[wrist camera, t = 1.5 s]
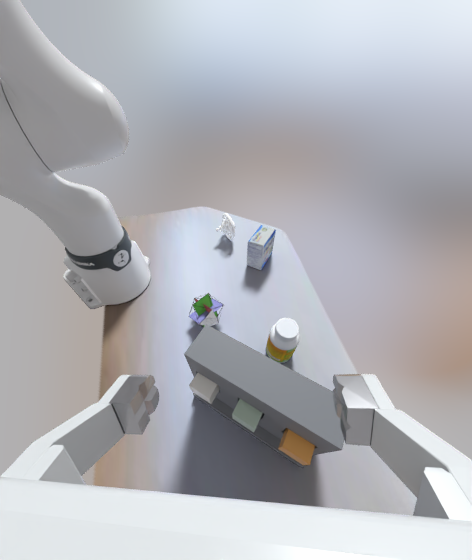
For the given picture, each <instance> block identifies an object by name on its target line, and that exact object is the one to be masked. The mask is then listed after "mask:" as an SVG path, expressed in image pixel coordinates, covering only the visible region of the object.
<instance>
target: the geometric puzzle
mask: <svg viewBox="0 0 472 560" xmlns="http://www.w3.org/2000/svg"><path fill="white" fill-rule="evenodd" d="M202 296H203V295H202ZM199 297H200V296H199ZM212 297H213V296H212ZM212 297H211V298H210V296H209V293H208V294H207V295H205V296H204V297H203V298H201V299H200V300H199V301H198V300H197V299H195V298H194V299H195V301H196V303H194V301H193V303H194V304H192V305H193V307H194V308H195V309H194V310H196V311H195V312H194V313H192V314H191V315H190V316H188V317H190V318H191V319H193V320H194V321H195V322H197V323H198V324H199V325H201V326H202V325H203V326H202V327H204V326H205V325H206V324H207V325H209V326H212V325H216V324H219V322H218V320H217V316H218V315H219V314H217V311H216V310H218V309H219V308H220V307H221V306H222V307H223V304H222V303H219V302H218V301H216V300H214V299H213V298H212ZM196 298H197V297H196ZM191 309H192V307H191ZM221 309H222V308H221ZM220 311H221V310H220ZM190 312H191V311H190ZM219 313H220V312H219ZM220 316H221V315H220Z"/></svg>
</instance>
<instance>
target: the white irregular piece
mask: <svg viewBox="0 0 472 560" xmlns="http://www.w3.org/2000/svg"><path fill="white" fill-rule="evenodd" d="M226 218H227V220H226ZM219 230H220V232H223V233H225V234H226V236H227V238H228V239H229V240H233V239H234V237H235V224H234V222H233V221H232V219H231V217H230V216H229V215H228V214H227V213H225V214H223V217H222V224H221V226H219V229H218V228H217V229H216V231H217V232H218V231H219ZM229 234H231V236H230V235H229Z"/></svg>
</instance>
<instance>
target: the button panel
mask: <svg viewBox="0 0 472 560" xmlns="http://www.w3.org/2000/svg"><path fill="white" fill-rule="evenodd" d="M184 355H185V357H186V359H187V362H188V364H189V366H190V369H191V371H192V373H193V376H194V377H195V376H196V374H197V373H200V374H201V375H203V376H204V377H206V378H208V379H209V380H211V381H212V382H214V383H216V384H217V385H219V389H220V390H219V392H218V393H217V395H216V397H215V399H214V400H213V402H212V404H210V403H208V402H207V401H205V400H204V399H202V398H201V397H199V396H198V395H196V394H195V393H193V395H194V396H195V397H196V398H198V399H199V400H201V401H202V402H204V403H205V404H207V405H208V406H210V407H211V408H213V409H214V410H216V411H217V412H219V413H220V414H222V415H223V416H225V417H226V418H227V419H229V420H230V421H232V422H233V423H235V424H236V425H238V426H239V427H241V428H242V429H244V430H245V431H247V432H248V433H250V434H251V435H253V436H254V437H256V438H257V439H259V440H260V441H262V442H263V443H265V444H266V445H268V446H269V447H271V448H272V449H274V450H275V451H277V452H278V453H280V454H281V455H283V456H284V457H286V458H287V459H289V460H290V461H292V462H293V463H295V464H296V465H298V466H299V467H301V468H303V467H304V465H302V464H300V463H299V462H297V461H296V460H294V459H293V458H291V457H290V456H288V455H287V454H285V453H284V452H282V451H281V450H279V449H278V448H279V445H280V442H281V439H282V437H283V434H284V431H285V429H286V428H288V429H289V430H291V431H292V432H294V433H296V434H297V435H299V436H300V437H302V438H304V439H305V440H307V441H308V442H310V443H312V444H313V445H315V448H314V451H313V455H317V454H322V453H328V452H333V451H339V450H342V448H343V443H344V437H343V434H342V430H341V427H340V418H339V417H338V416H337V414H336V411H335V407H334V401H333V392H332V391H331V390H329V389H327V388H325V387H323V386H321V385H319V384H317V383H316V382H314V381H312V380H310V379H308V378H306V377H304V376H302V375H301V374H299V373H297V372H295V371H293V370H291V369H289V368H287V367H286V366H284V365H282V364H280V363H278V362H276V361H274V360H273V359H271V358H269V357H267V356H265V355H263V354H261V353H259V352H258V351H256V350H254V349H252V348H250V347H248V346H246V345H244V344H243V343H241V342H239V341H237V340H235V339H233V338H231V337H229V336H228V335H226V334H224V333H222V332H220V331H218V330H216V329H214V328H213V327H211V326H209V325H207V324H206V325H205V326H204V328H203V329H202V330H201V332H200V333H199V335H198V336H197V337H196V339H195V340H194V341H193V343H192V344H191V345H190V347H189V348H188V350H187V351H186V352H185V354H184ZM239 399H241V400H243V401H244V402H246V403H248V404H249V405H251V406H252V407H254V408H256V409H257V410H259V411H260V412H262V415H261V418H260V420H259V422H258V425H257V427H256V429H255V431H254V432H252V431H251V430H249V429H248V428H246V427H245V426H243V425H242V424H240V423H239V422H237V421H236V420H234V419H233V418H232V413H233V411H234V409H235V407H236V405H237V403H238V401H239Z"/></svg>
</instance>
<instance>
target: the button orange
mask: <svg viewBox="0 0 472 560" xmlns="http://www.w3.org/2000/svg"><path fill="white" fill-rule="evenodd" d="M314 448H315V445H313V444H312V443H310V442H308V441H307V440H305V439H304V438H302V437H300V436H299V435H297V434H296V433H294V432H292V431H291V430H289V429H288V428H286V429H285V431H284V434H283V437H282V439H281V442H280V445H279V448H278V449H279V450H281V451H282V452H284V453H285V454H287V455H288V456H290V457H291V458H293V459H294V460H296V461H297V462H299V463H300V464H302V465H310V462H311V459H312V455H313V451H314Z"/></svg>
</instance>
